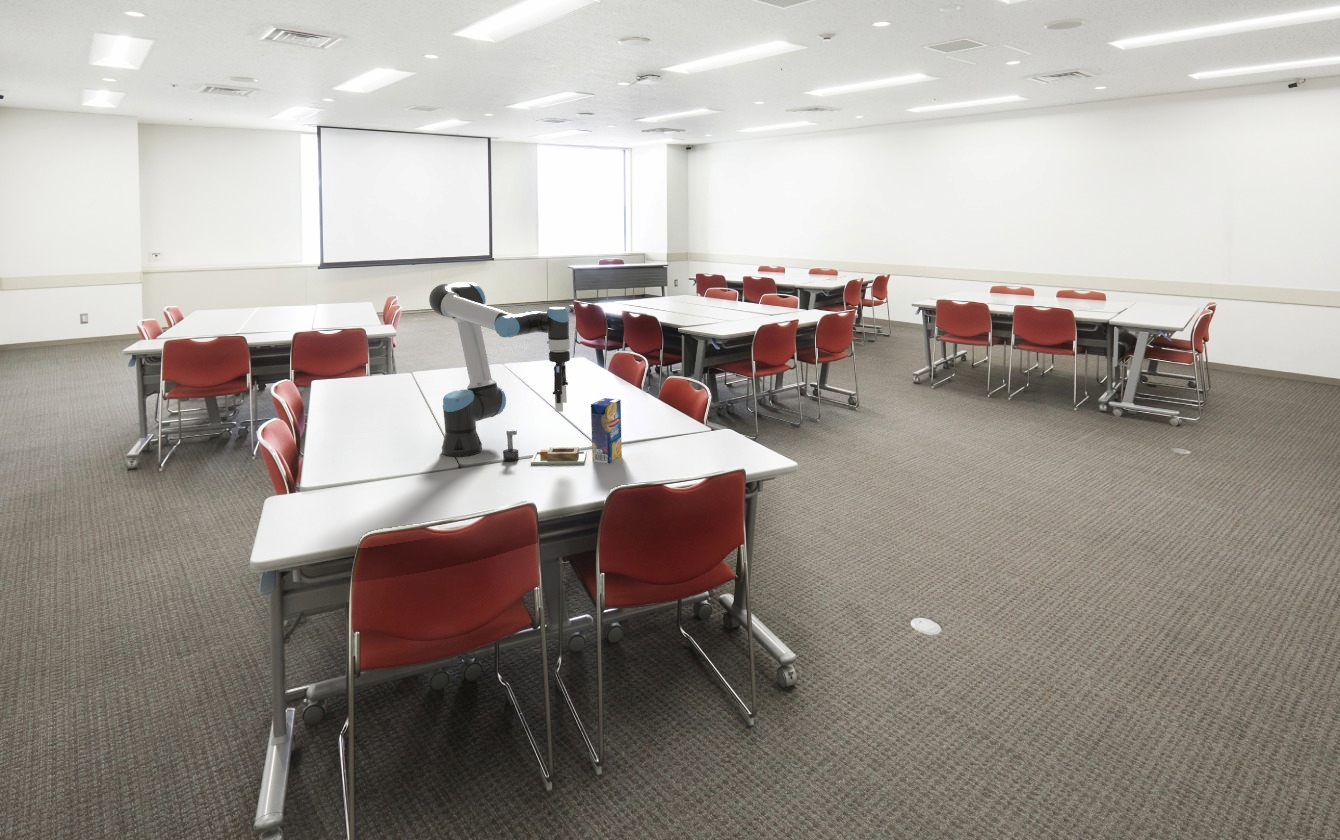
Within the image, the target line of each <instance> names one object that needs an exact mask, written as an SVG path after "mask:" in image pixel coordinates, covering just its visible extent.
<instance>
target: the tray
mask: <svg viewBox="0 0 1340 840" xmlns="http://www.w3.org/2000/svg"><path fill="white" fill-rule="evenodd" d="M540 451H541V450H539V451H538V450H537V451H535V452H534V454H533V456H532V458H531V460H530V466H555V465H559V466H561V465H562V466H563V465H565V466H566V465H568V466H569V465H573V466H574V465H585V463H586V457H587V450H579V456H578V460H577V461H548V459H540Z"/></svg>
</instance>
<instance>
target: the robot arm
mask: <svg viewBox="0 0 1340 840" xmlns="http://www.w3.org/2000/svg"><path fill="white" fill-rule="evenodd" d="M428 299H429V300H428V301H429V306H430V307H431V309H432V311H433V312H435V313H436V314H438V316H439V315H440V316H443V317H446V318H449V319H450V318H451V319H452V320H453V321H454V322H456V323H457V327H458V328H457V329H458V332H459V338H460V341H461V347H462V351H463V356H464V360H465V365H466V371H467V375H468V379H469V384H468V385H467V388H466V389H459V390H453V391H450V392H448V393H446V394H445V395H444V396H443V398H442V410H443V419H444V437H443V443H442V446H441V453H442V455H444V456H447V457H458V458H459V457H461V458H462V457H468V456H473V455H477V454H479V453H481V452H482V451H483V444H482V441H481V438H480V436H479V434H478V431H477V423H476V422H479V421H481V420H482V421H483V420H485V419H489V418H493V417H494V418H495V417H496V416H498V415H500V414H502V412H504V410H505V408H506V404H507V396H506V394H505V391H504V390H503V388H501V387H500V386H498V384H497V381H496V380H494V379H493V378H492V375H491V374H492V373H491V370H490V365H489V359H488V354H487V349H486V346H485V341H484V340H485V339H484V336H483V331H482V327H483V328H486V329H489V330H493V331H496V334H497V335H498V336H499V337H501V338H514V337H517V336H523V335H528V334H534V333H545V334H547V335H548V336H547V337H548V340H547V341H546V344H547V345H548V350H549V351H548V360H549V361H550V362H551V363H555V365H554V366H553V372H554V375H553V377H554V381H553V382H554V385H553V387H554V389H553V391H552V395H554V408H555V409H554V411H555V412H557V413H559V412H560V413H561V412H562V413H563V412H564V403H565V404H567V400H568V399H567V386H568V384H569V382H568V381H567V375H566V374H567V371H566V368H567V366H566V363H567V362H570V360H571V353H570V349H571V347H570V346H571V345H570V343H571V342H570V331H569V330H570V317H569V311H568V309H567V308H566V307H563V306H551V307H548V308H547V311H539V310H525V311H524V312H523V313H515V314H514V313H511V312H506V311H503V310H502V309H499V308H496V307H492V306H488V305H485V304H486V301H487V300H486V295H485V292H484V290H483V289H482V287H480V285H478V284H477V283H476V282H472V281H471V282H469V281H461V282H453V283H442V284H439V285H437V286H435V287H434V288H433V289H432V290H431V292H430V294H429V298H428Z"/></svg>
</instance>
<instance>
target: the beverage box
mask: <svg viewBox="0 0 1340 840" xmlns="http://www.w3.org/2000/svg"><path fill="white" fill-rule="evenodd" d="M621 403H622V401H621V399H619V398H617V399H616V398H608V397H607V398H606V397H603V398H602V399H599V400H597V401H595V402H593V403H591V404H590V418H591V419H590V420H591V456H592V462H595V463H603V464H610V463H612V462H614V461H615V460H617V459H618V458H620V457H621V456H623V455H622V409H621V408H622V406H621Z"/></svg>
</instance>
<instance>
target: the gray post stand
mask: <svg viewBox="0 0 1340 840" xmlns="http://www.w3.org/2000/svg"><path fill="white" fill-rule="evenodd" d="M517 434H518V430H517V429H506V437H507V438H506V439H507V448H506V449H503V451H502V455H503V456H502V457H503V461H504V462H506V463H515V462H517V461H519V459H520V456H519V449H517V448H514V446H513V443H514V442H513V436H516V435H517Z"/></svg>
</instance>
